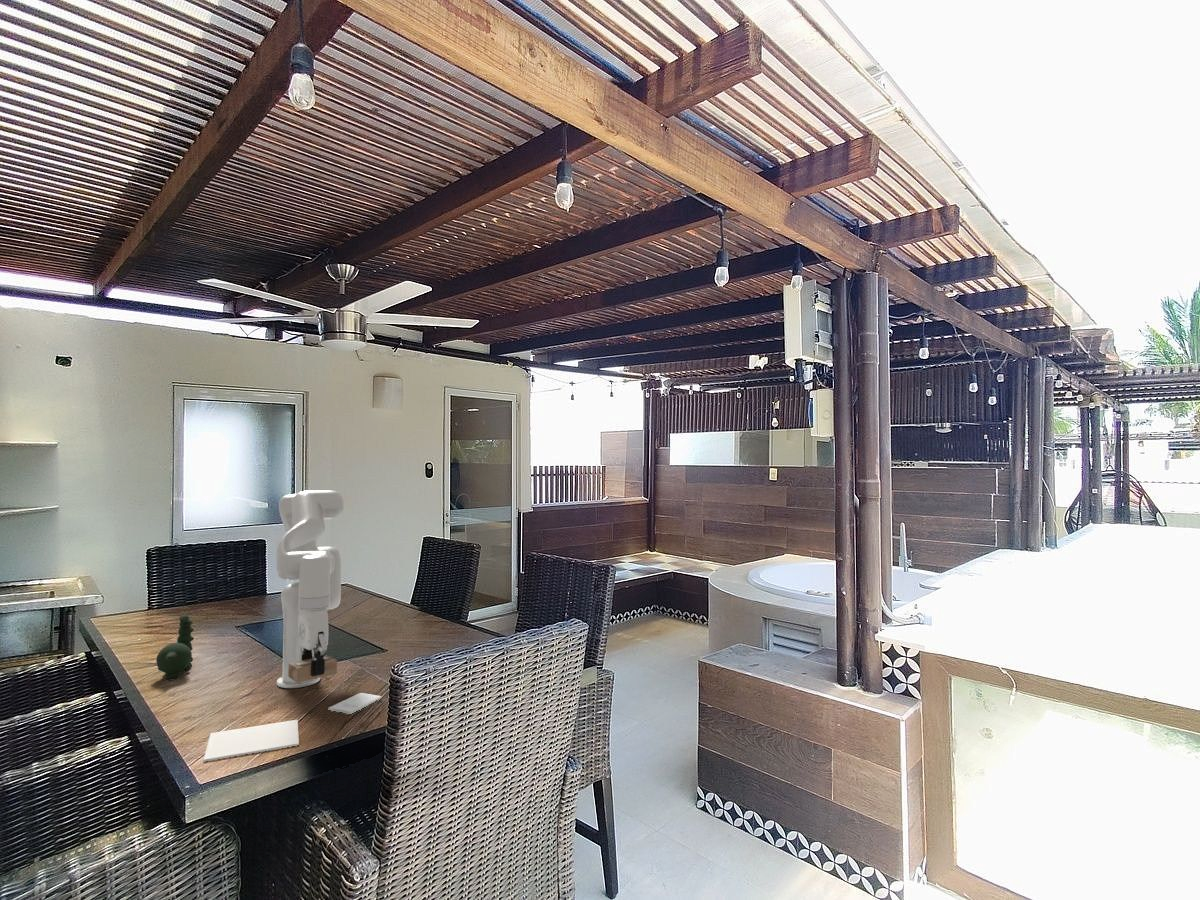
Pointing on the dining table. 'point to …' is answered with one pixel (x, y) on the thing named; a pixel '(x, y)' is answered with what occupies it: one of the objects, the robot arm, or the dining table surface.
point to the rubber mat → (252, 740)
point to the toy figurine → (177, 652)
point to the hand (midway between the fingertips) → (312, 671)
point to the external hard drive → (354, 703)
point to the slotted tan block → (303, 669)
